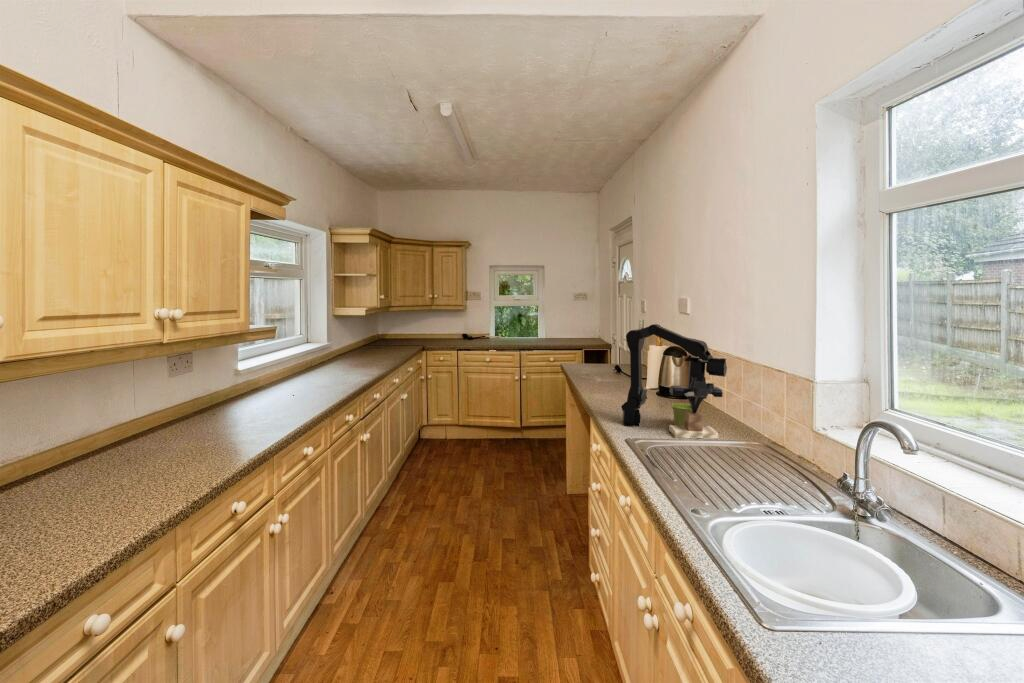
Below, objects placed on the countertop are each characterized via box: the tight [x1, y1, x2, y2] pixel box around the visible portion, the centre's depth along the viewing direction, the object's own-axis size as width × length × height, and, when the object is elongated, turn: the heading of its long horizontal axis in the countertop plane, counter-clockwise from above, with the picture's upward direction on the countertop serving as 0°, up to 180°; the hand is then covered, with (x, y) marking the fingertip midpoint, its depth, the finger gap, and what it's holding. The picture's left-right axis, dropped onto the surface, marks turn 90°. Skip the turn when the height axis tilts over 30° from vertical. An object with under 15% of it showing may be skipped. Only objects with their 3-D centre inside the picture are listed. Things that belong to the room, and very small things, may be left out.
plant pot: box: [671, 403, 692, 425], centre depth 208 cm, size 9×9×9 cm
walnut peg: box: [684, 410, 705, 431], centre depth 196 cm, size 6×6×9 cm
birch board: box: [668, 424, 719, 439], centre depth 196 cm, size 16×10×2 cm, turn 87°
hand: (694, 412), depth 195 cm, fingers closed, pressing on walnut peg
